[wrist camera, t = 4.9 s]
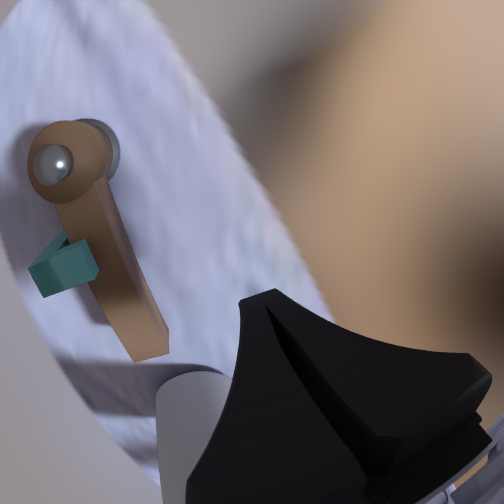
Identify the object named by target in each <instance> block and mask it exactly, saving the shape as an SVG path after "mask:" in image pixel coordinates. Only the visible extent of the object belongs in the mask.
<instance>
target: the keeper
mask: <svg viewBox="0 0 504 504" xmlns="http://www.w3.org/2000/svg"><path fill="white" fill-rule="evenodd" d="M28 270H29V272H30V274H31V276H32V278H33V280H34V282H35V283H36V285H37V287H38V289H39V291H40V293H41V294H42V296H43V298H45V297H48V296H51V295H53V294H56V293H59V292H61V291H64V290H67V289H70V288H72V287H75V286H78V285H81V284H83V283H86V282H89V281H92V280H95V278H96V276H97V274H98V272H99V268H98V266H97V264H96V262H95V260H94V257H93V255H92V253H91V251H90V249H89V246H88V244H87V242H86V239H83V240H80V241H78V242H76V243H73V244H71V245H70V243H69V241H68V238H67V236H66V233H65V231H63V232H62V233H61V234H60V235H59V236H58V237H57V238H56V239H55V240H54V241H53V242H52V243H51V244H50V245H49V246H48V247H47V248H46V249H45V250H44V251H43V252H42V253H41V254H40V255H39V256H38V258H37V259H36V260H35V261H34V262H33V263H32V264H31V265H30V266H29V267H28Z"/></svg>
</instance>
